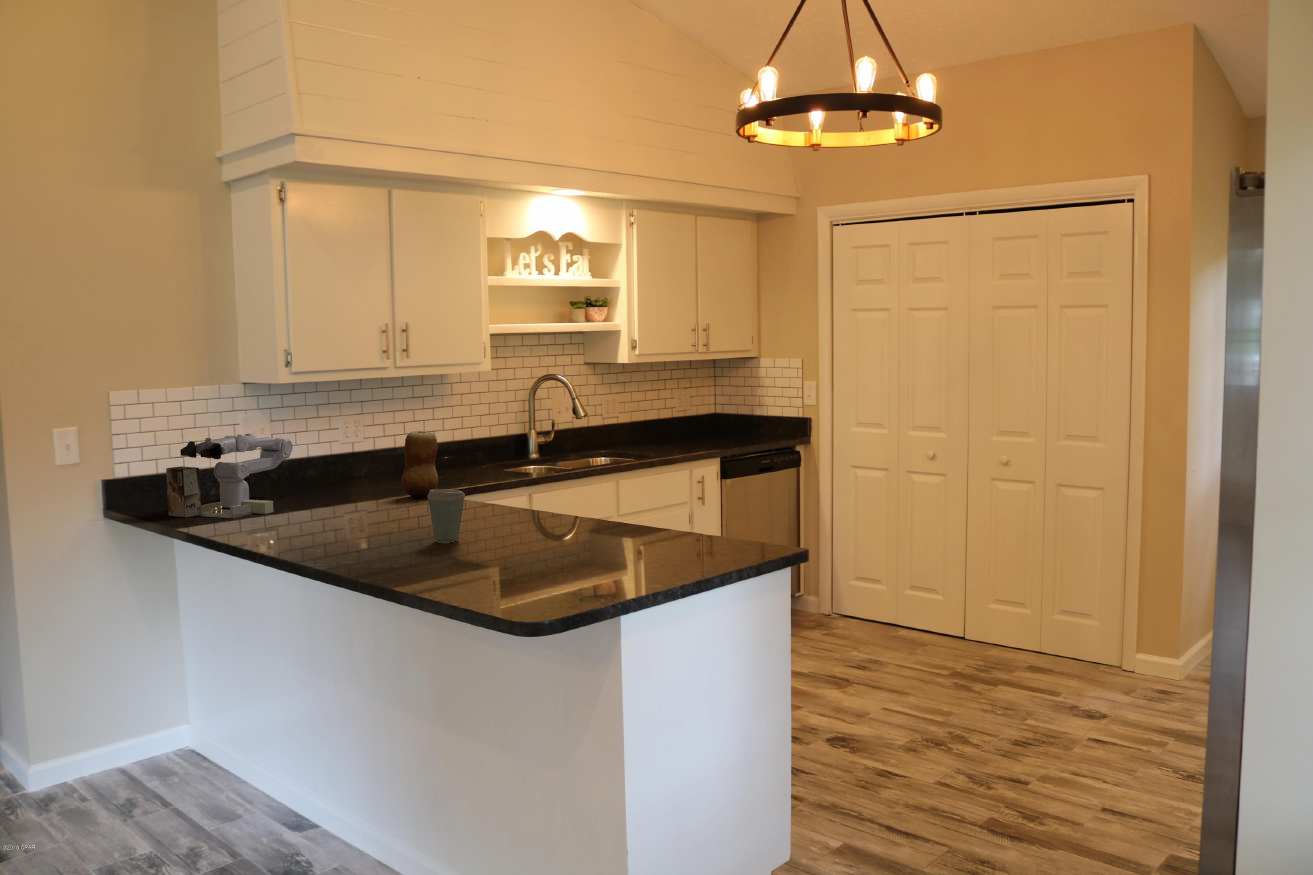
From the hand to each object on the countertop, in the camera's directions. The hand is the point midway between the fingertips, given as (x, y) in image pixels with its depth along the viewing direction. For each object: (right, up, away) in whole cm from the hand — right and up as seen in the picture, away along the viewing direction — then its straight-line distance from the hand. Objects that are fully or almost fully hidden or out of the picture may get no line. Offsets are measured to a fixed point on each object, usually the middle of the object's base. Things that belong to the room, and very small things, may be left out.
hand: (191, 453), depth 336 cm
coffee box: (-2, -21, 0) cm, 21 cm away
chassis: (+11, -21, +1) cm, 24 cm away
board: (+19, -20, +7) cm, 29 cm away
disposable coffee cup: (+95, -25, -47) cm, 109 cm away
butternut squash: (+66, -17, +43) cm, 81 cm away
